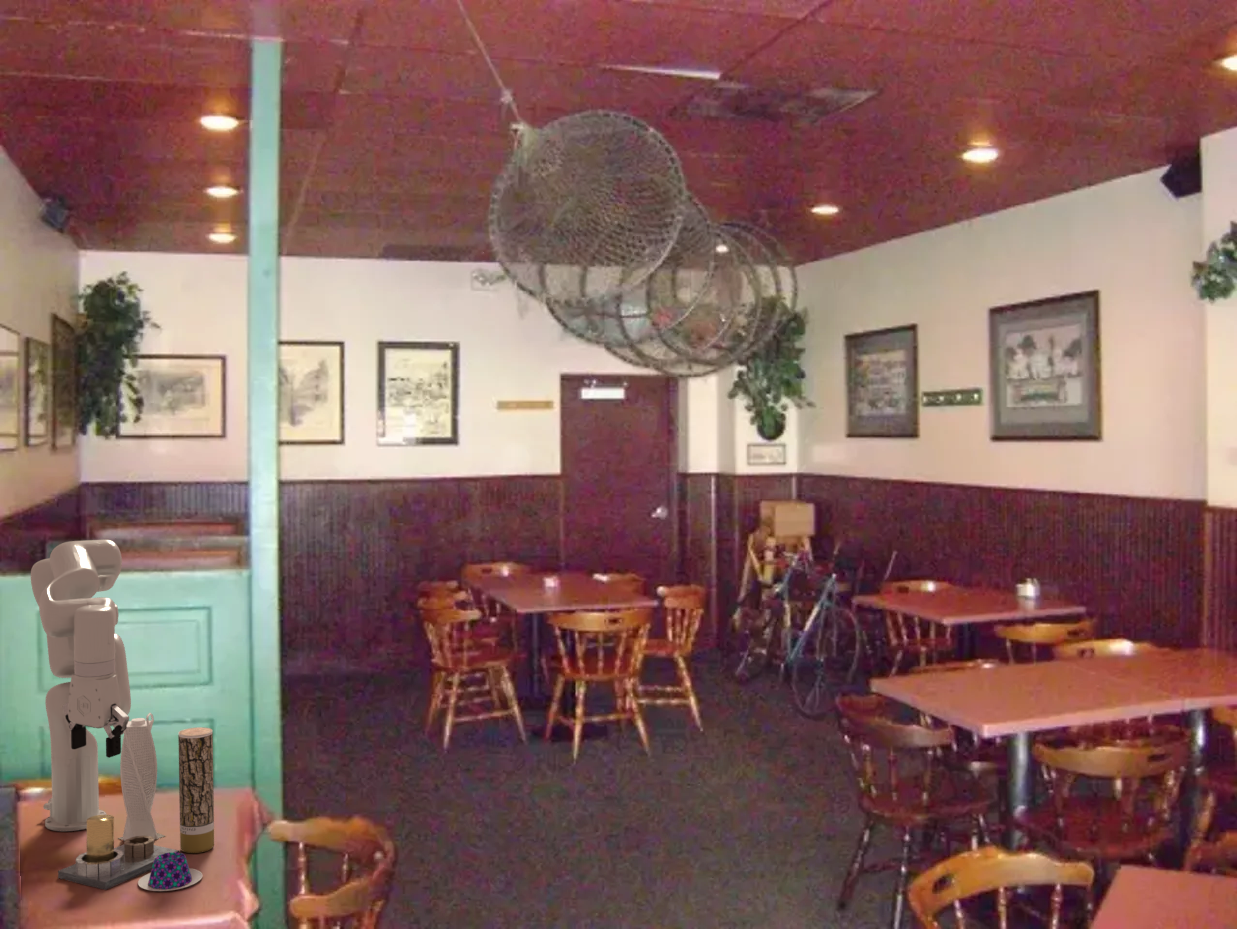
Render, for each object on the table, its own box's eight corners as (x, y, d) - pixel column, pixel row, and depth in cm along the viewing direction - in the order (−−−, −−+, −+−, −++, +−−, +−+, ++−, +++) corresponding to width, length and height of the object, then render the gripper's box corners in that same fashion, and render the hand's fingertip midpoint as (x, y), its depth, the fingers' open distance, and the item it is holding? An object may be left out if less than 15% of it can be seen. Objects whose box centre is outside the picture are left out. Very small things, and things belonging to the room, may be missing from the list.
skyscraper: (169, 839, 275) (167, 711, 273) (136, 850, 268) (133, 718, 266) (146, 831, 280) (144, 705, 278) (113, 841, 273) (110, 712, 271)
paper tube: (203, 855, 264) (201, 736, 263) (173, 853, 265) (171, 735, 264) (220, 844, 271) (218, 728, 269) (191, 842, 272) (189, 726, 271)
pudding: (138, 875, 254) (137, 850, 254) (201, 868, 258) (201, 842, 258) (137, 898, 243) (137, 871, 242) (203, 890, 247) (203, 863, 247)
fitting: (81, 869, 252) (81, 820, 251) (102, 861, 256) (102, 813, 255) (98, 875, 249) (98, 825, 249) (119, 867, 254) (119, 817, 253)
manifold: (58, 878, 252) (57, 858, 251) (133, 847, 269) (133, 829, 268) (105, 889, 246) (105, 869, 246) (179, 857, 263) (179, 838, 263)
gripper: (48, 666, 254) (50, 749, 256) (111, 678, 246) (112, 764, 248) (79, 658, 261) (80, 739, 262) (141, 669, 253) (142, 753, 255)
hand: (96, 751), depth 255 cm, fingers open, 9 cm apart
